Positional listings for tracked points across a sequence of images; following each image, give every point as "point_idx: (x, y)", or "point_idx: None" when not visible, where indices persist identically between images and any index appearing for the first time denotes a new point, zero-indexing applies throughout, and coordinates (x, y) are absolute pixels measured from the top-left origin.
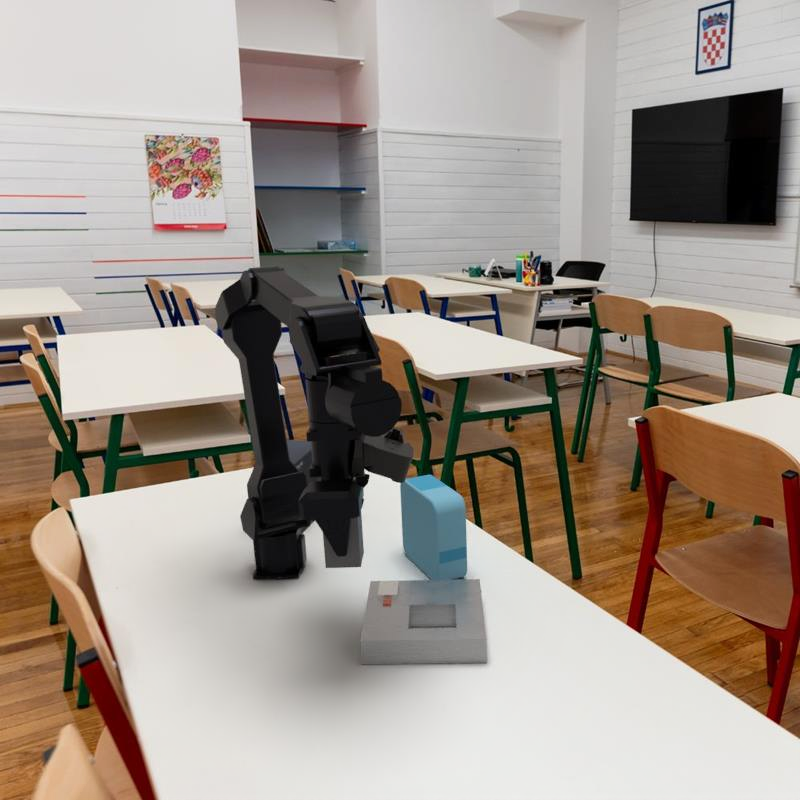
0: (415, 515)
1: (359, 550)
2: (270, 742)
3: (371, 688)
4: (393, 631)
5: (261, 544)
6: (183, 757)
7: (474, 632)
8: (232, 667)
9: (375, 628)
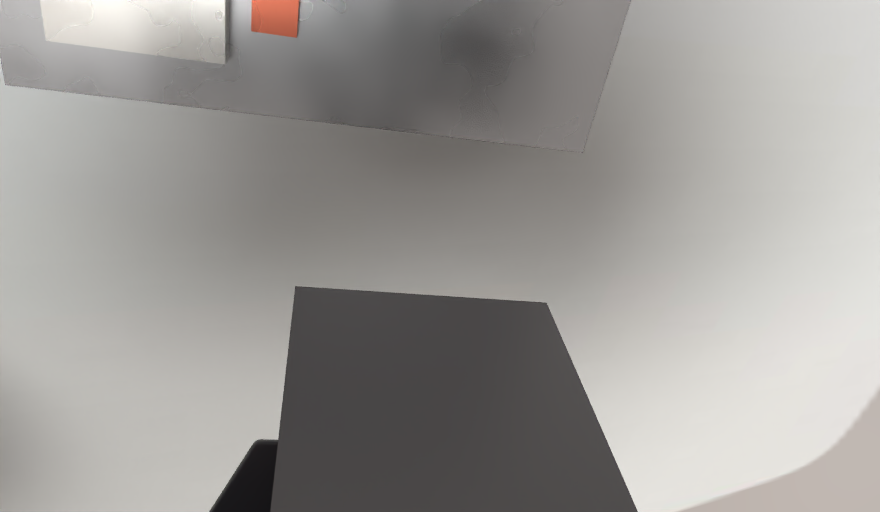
0: None
1: (582, 393)
2: (789, 326)
3: (693, 86)
4: (556, 3)
5: None
6: (750, 454)
7: None
8: None
9: (507, 86)
